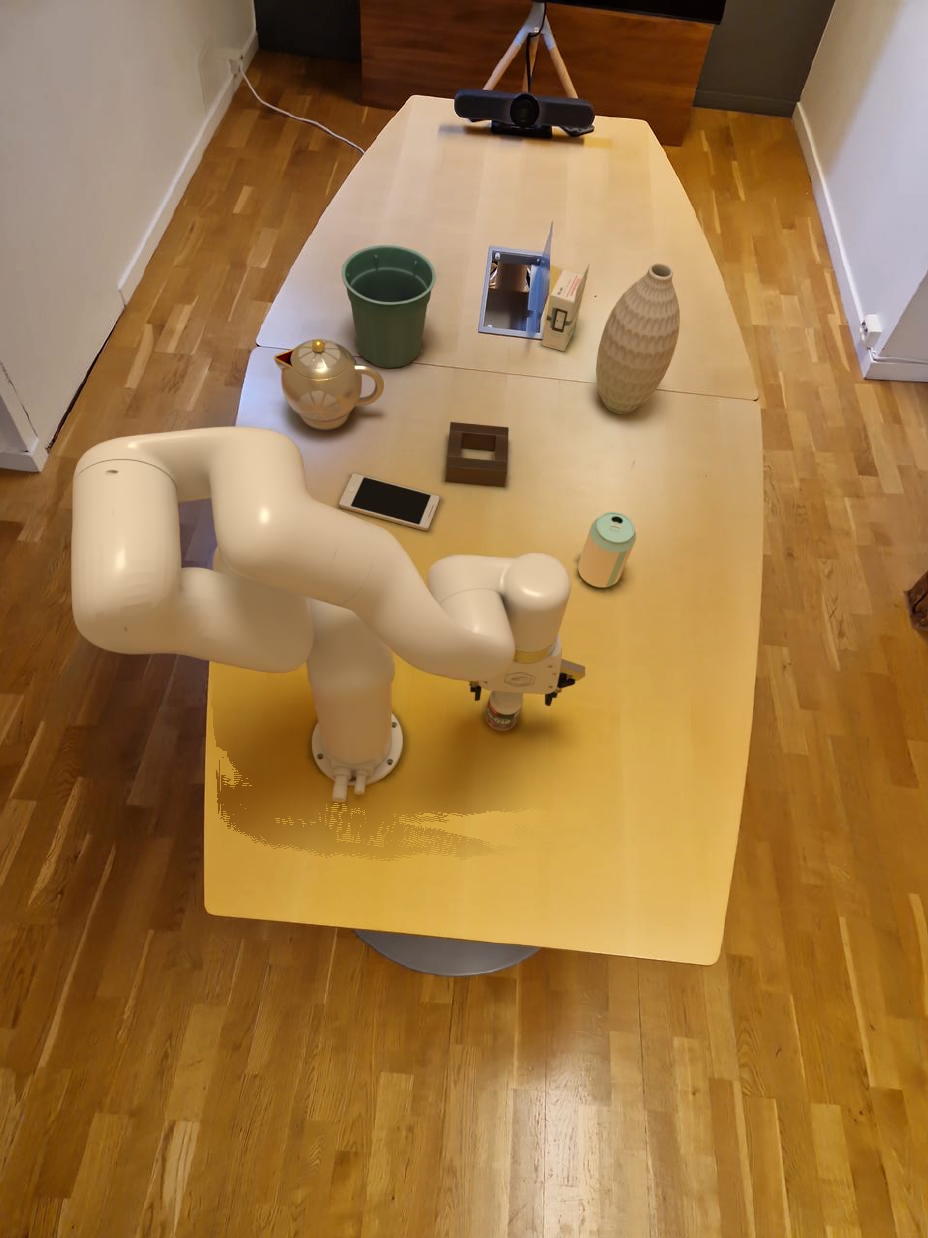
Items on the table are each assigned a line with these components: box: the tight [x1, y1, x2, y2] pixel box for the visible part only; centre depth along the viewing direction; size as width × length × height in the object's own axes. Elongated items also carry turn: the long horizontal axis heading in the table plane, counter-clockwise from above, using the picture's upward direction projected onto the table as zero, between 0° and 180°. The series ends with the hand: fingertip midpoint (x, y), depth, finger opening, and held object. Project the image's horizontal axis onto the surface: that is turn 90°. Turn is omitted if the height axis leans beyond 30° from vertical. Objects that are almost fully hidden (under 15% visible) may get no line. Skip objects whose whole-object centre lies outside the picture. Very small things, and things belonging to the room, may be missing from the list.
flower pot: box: [341, 244, 437, 369], centre depth 149 cm, size 16×16×16 cm
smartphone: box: [338, 473, 441, 532], centre depth 136 cm, size 7×15×1 cm, turn 74°
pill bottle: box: [484, 691, 524, 731], centre depth 114 cm, size 5×5×8 cm
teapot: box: [273, 338, 385, 431], centre depth 139 cm, size 18×14×16 cm
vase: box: [595, 262, 681, 415], centre depth 140 cm, size 13×13×28 cm
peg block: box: [444, 421, 510, 488], centre depth 141 cm, size 10×10×4 cm
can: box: [577, 511, 637, 588], centre depth 127 cm, size 7×7×12 cm
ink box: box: [541, 262, 590, 352], centre depth 155 cm, size 8×5×15 cm, turn 160°
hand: (512, 693), depth 112 cm, fingers open, 9 cm apart
